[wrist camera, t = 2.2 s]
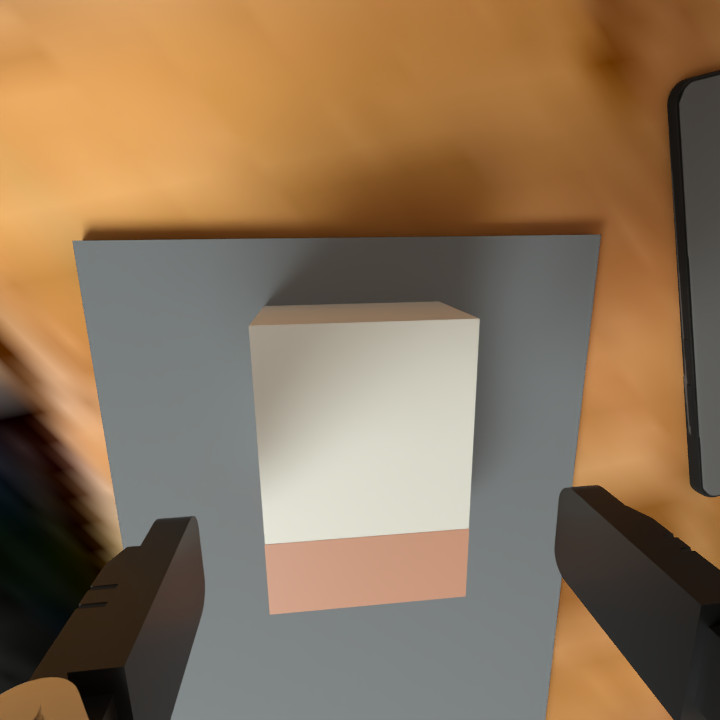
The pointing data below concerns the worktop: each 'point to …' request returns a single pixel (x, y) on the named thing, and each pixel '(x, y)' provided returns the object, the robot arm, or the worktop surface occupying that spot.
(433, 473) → the card box
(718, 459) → the smartphone
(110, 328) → the mat
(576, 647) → the worktop surface
